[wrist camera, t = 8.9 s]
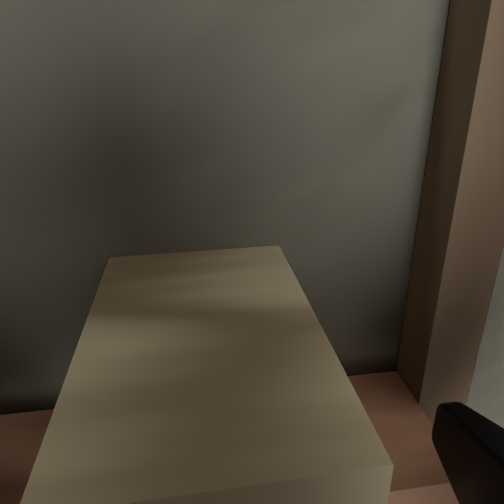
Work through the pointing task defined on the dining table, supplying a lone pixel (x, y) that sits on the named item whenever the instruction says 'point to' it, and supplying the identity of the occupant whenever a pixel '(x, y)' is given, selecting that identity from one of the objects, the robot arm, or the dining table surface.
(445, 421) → the robot arm
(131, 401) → the block
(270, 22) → the dining table surface
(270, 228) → the dining table surface
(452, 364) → the guide track
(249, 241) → the dining table surface
